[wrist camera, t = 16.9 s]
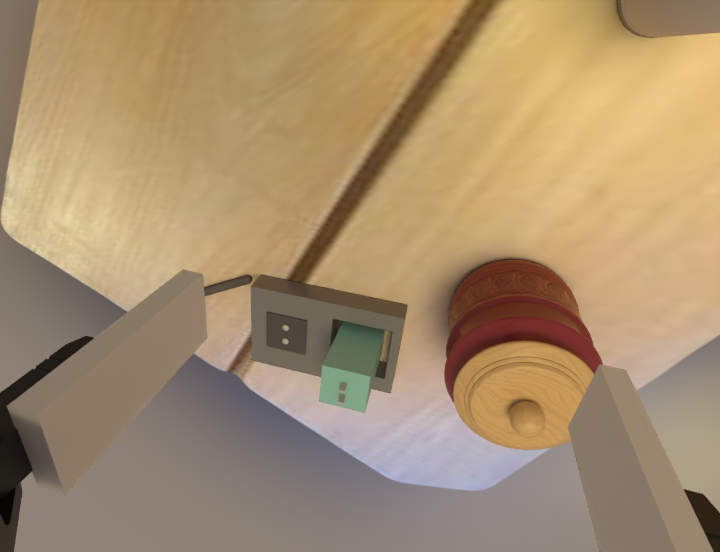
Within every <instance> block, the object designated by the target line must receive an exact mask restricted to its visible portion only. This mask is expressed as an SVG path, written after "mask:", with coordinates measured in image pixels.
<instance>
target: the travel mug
mask: <svg viewBox="0 0 720 552" xmlns="http://www.w3.org/2000/svg"><path fill="white" fill-rule="evenodd" d="M617 4H618V12H619V16H620V19H621V20H622V22H623V24H624V26H625V27H626V28H627V29H628V30H629V31H631V32H633V33H634V34H636V35H639V36H642V37H650V38H655V37H668V36H681V35H695V34H708V33H720V0H618V1H617Z"/></svg>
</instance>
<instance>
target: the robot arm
mask: <svg viewBox="0 0 720 552" xmlns="http://www.w3.org/2000/svg"><path fill="white" fill-rule="evenodd" d="M206 339H207V324H206V309H205V294H204V279H203V274H200V273H196V272H192V271H187V270H182V271H180V272H179V273H178V274H177V275H175V276H174V277H173V278H171V279H170V280H169V281H167V282H166V283H165V284H164V285H162V286H161V287H160V288H158V289H157V290H156V291H155V292H153V293H152V294H151V295H149V296H148V297H147V298H146V299H144V300H143V301H142V302H140V303H139V304H138V305H137V306H135V307H134V308H133V309H131V310H130V311H129V312H128V313H126V314H125V315H124V316H122V317H121V318H120V319H118V320H117V321H116V322H115V323H113V324H112V325H111V326H109V327H108V328H107V329H106V330H104V331H103V332H102V333H100V334H99V335H98V336H97V337H95V338H92V337H89V336H85V337H82V338H80V339H78V340H75V341H73V342H71V343H68V344H66V345H65V346H63V347H62V348H61V349H59V350H58V351H57V352H55V353H54V354H52V355H51V356H50V357H49V359H46V360H44V361H43V362H42V363H40V364H39V365H37V366H36V369H32V370H31V371H29V372H28V373H27V374H25V375H24V376H22V377H21V378H20V379H18V380H17V381H16V382H14V383H13V384H12V385H11V386H9V387H8V388H6V389H5V390H4V391H2V392H1V393H0V552H14V546H15V539H16V532H17V525H18V518H19V511H20V504H21V498H22V487H21V483H20V482H21V481H22V480H23V479H24V478H25V477H26V476H27V475H28V474H29V473H30V472H31V471H32V472H33V475H34V477H35V480H36V483H37V485H38V487H42V488H45V489H48V490H51V491H54V492H57V493H60V494H64V495H65V494H67V492H68V491H69V490H70V489H71V488H72V487H73V486H74V485H75V484H76V482H77V481H78V480H79V479H80V478H81V477H82V476H83V475H84V473H86V471H87V470H88V469H89V468H90V467H91V466H92V465H93V464H94V463H95V461H96V460H97V459H98V458H99V457H100V456H101V455H102V454H103V453H104V452H105V450H106V449H107V448H108V447H109V446H110V445H111V444H112V443H113V442H114V440H115V439H116V438H117V437H118V436H119V435H120V434H121V433H122V432H123V430H124V429H125V428H126V427H127V426H128V425H129V424H130V423H131V422H132V421H133V419H134V418H135V417H136V416H137V415H138V414H139V413H140V412H141V410H142V409H143V408H144V407H145V406H146V405H147V404H148V403H149V402H150V401H151V399H152V398H153V397H154V396H155V395H156V394H157V393H158V392H159V391H160V390H161V388H162V387H163V386H164V385H165V384H166V383H167V382H168V381H169V380H170V378H171V377H172V376H173V375H174V374H175V373H176V372H177V371H178V369H180V367H181V366H182V365H183V364H184V363H185V362H186V361H187V360H188V359H189V357H190V356H191V355H192V354H193V353H194V352H195V351H196V350H197V349H198V347H199V346H200V345H201V344H202V343H203V342H204V341H205V340H206ZM568 430H569V434H570V438H571V442H572V446H573V450H574V454H575V458H576V462H577V465H578V470H579V473H580V477H581V481H582V485H583V489H584V493H585V497H586V501H587V504H588V508H589V512H590V516H591V520H592V524H593V528H594V532H595V535H596V540H597V544H598V548H599V551H600V552H720V513H719V512H718V510H717V509H716V508H715V507H714V506H713V505H712V504H711V503H710V501H709V500H708V499H707V498H706V497H705V496H704V495H703V494H700V493H697V492H693V491H689V490H685V489H683V487H682V485H681V483H680V481H679V479H678V477H677V475H676V473H675V471H674V469H673V467H672V465H671V462H670V460H669V458H668V456H667V455H666V452H665V450H664V448H663V446H662V444H661V442H660V440H659V438H658V435H657V433H656V431H655V429H654V427H653V425H652V423H651V421H650V419H649V417H648V415H647V413H646V410H645V409H644V406H643V404H642V402H641V400H640V398H639V396H638V394H637V392H636V390H635V388H634V386H633V384H632V381H631V379H630V377H629V375H628V373H627V371H626V370H623V369H618V368H614V367H610V366H605V365H601V364H599V366H598V368H597V370H596V372H595V374H594V376H593V378H592V380H591V382H590V384H589V386H588V388H587V390H586V392H585V394H584V396H583V398H582V400H581V402H580V404H579V406H578V408H577V410H576V412H575V414H574V416H573V418H572V420H571V421H570V423H569V425H568Z"/></svg>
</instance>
